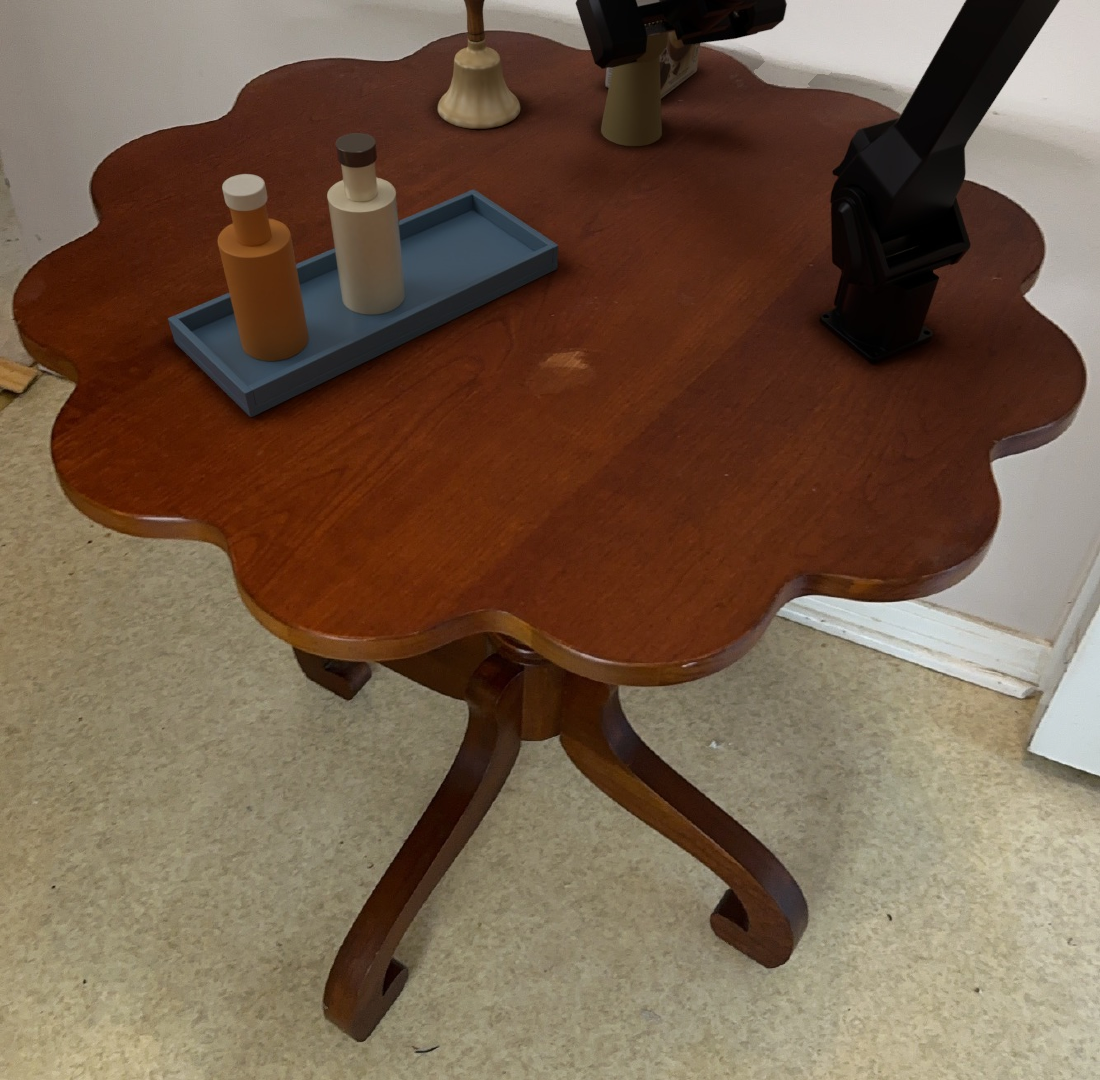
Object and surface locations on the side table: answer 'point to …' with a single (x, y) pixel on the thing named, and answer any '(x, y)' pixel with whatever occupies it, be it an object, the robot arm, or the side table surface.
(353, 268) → the cream bottle
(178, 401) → the side table surface
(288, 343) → the amber bottle
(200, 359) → the tray
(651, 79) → the olive pawn piece
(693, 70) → the coffee box
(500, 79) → the hand bell
